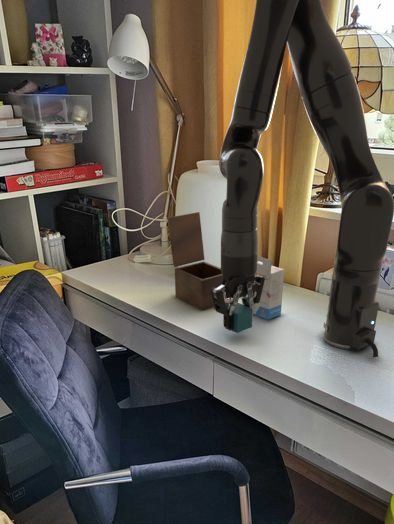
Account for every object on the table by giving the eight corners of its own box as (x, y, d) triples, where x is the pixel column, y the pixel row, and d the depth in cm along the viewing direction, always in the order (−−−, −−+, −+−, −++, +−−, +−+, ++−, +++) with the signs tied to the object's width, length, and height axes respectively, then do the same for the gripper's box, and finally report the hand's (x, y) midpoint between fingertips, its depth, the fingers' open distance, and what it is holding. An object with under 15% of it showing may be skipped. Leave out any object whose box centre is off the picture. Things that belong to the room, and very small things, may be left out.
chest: (231, 301, 124) (231, 272, 120) (202, 310, 119) (201, 280, 115) (203, 288, 132) (203, 261, 129) (175, 296, 127) (174, 268, 123)
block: (252, 327, 105) (252, 308, 103) (237, 333, 103) (237, 314, 101) (238, 321, 108) (238, 302, 106) (223, 326, 106) (223, 308, 104)
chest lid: (199, 212, 124) (197, 212, 124) (168, 217, 119) (167, 217, 119) (204, 259, 128) (202, 259, 129) (175, 267, 123) (173, 266, 124)
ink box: (281, 315, 116) (286, 256, 109) (267, 320, 113) (271, 260, 106) (256, 304, 122) (260, 248, 115) (242, 309, 119) (245, 252, 112)
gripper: (224, 261, 91) (224, 341, 99) (276, 247, 99) (272, 322, 107) (200, 253, 96) (202, 329, 104) (251, 240, 104) (249, 312, 112)
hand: (237, 325), depth 106 cm, fingers closed on block, 4 cm apart
